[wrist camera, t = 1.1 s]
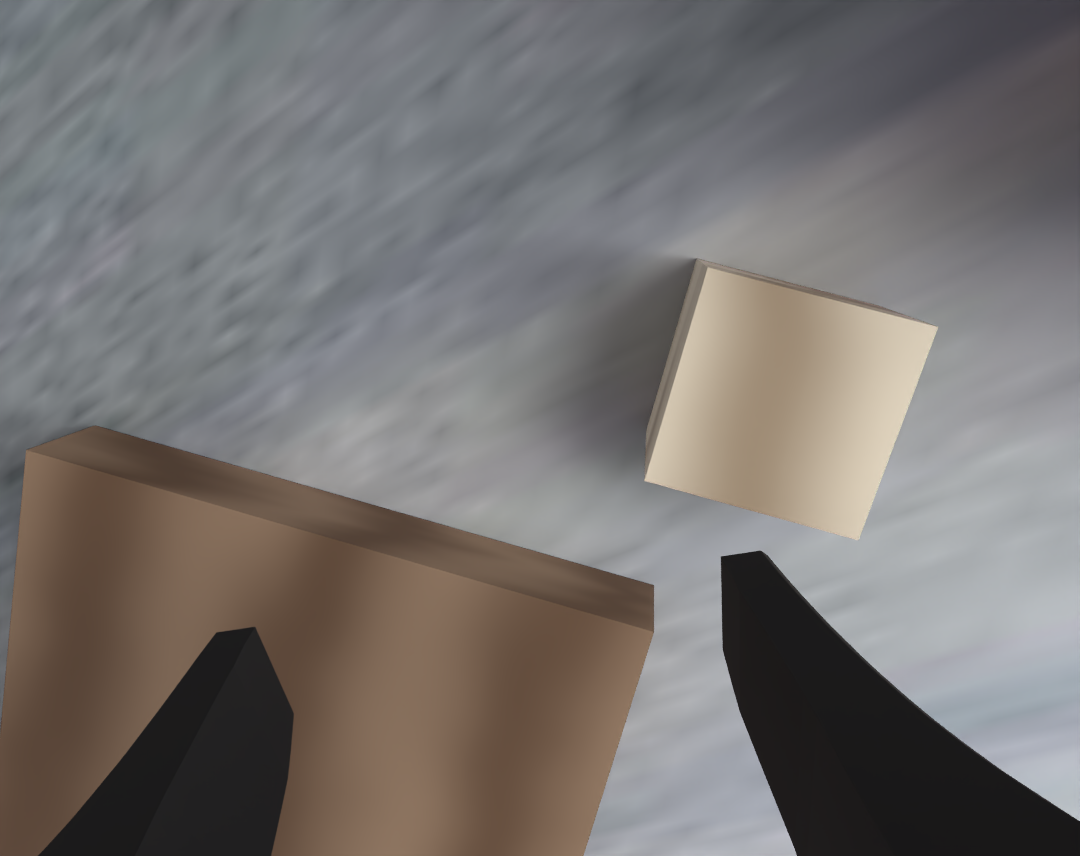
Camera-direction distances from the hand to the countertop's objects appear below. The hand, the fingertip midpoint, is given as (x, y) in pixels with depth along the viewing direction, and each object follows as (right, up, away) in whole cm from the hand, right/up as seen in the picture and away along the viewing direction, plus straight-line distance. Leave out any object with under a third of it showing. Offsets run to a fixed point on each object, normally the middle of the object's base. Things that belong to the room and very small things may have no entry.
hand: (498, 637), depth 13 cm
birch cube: (+7, +5, +10) cm, 13 cm away
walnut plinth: (-7, -7, +15) cm, 18 cm away
